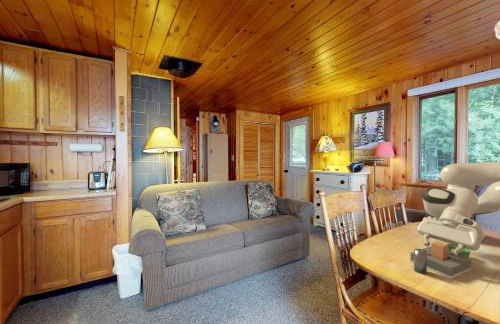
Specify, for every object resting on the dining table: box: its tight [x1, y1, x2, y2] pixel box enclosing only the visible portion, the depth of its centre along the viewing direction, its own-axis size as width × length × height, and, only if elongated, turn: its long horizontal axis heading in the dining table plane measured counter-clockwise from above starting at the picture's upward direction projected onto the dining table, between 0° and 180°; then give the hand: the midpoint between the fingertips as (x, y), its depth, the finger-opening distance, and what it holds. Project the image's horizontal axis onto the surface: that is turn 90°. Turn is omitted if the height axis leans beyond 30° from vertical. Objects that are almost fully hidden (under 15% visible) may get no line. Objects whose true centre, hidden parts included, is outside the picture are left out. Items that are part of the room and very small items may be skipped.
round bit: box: [413, 248, 428, 275], centre depth 90 cm, size 4×4×8 cm
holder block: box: [409, 246, 472, 280], centre depth 94 cm, size 14×14×4 cm
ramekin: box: [446, 243, 472, 260], centre depth 101 cm, size 9×9×4 cm
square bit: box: [430, 240, 449, 261], centre depth 94 cm, size 4×4×8 cm
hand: (438, 249), depth 93 cm, fingers open, 8 cm apart
